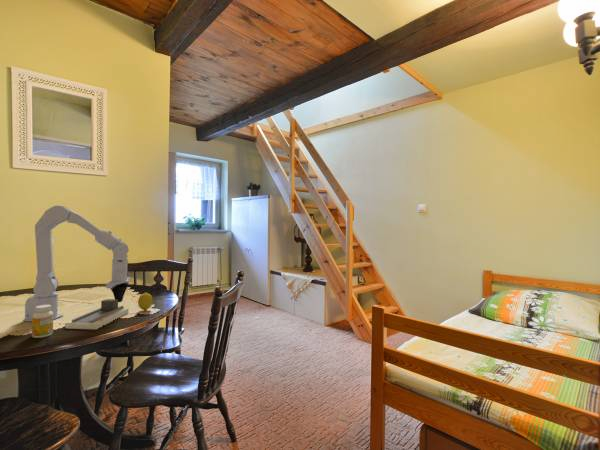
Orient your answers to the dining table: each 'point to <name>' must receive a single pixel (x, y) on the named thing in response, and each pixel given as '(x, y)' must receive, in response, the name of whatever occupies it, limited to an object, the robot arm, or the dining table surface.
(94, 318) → the fader console
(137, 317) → the dining table surface
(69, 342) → the dining table surface
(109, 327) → the dining table surface
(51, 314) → the supplement bottle
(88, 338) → the dining table surface
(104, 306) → the fader knob
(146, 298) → the yellow oval piece
